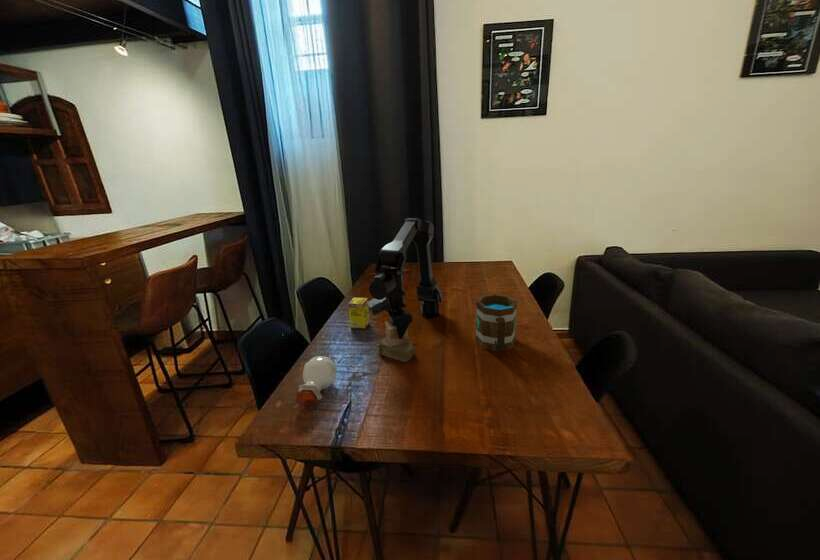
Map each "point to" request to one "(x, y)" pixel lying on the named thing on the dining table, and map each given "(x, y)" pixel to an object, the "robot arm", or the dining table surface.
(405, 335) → the beige cube
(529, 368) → the dining table surface
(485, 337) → the mug
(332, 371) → the potion bottle
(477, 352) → the dining table surface
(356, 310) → the supplement box
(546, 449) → the dining table surface
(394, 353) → the stone block
